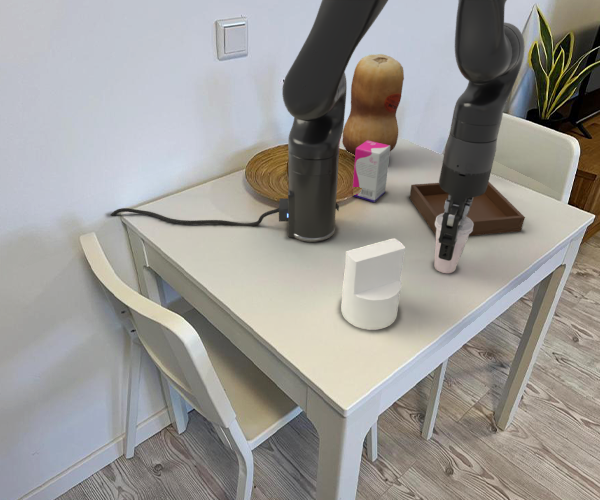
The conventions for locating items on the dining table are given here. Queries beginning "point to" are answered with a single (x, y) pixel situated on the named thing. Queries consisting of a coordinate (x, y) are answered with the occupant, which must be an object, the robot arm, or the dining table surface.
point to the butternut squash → (374, 102)
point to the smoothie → (462, 237)
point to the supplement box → (371, 170)
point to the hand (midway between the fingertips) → (449, 248)
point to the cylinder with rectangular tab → (372, 284)
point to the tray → (483, 212)
